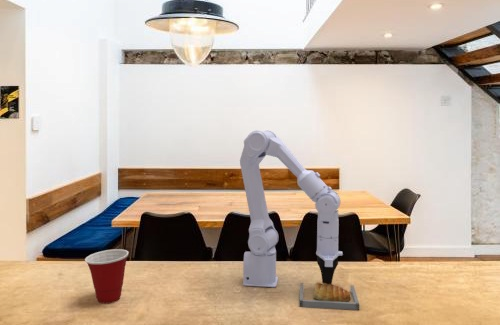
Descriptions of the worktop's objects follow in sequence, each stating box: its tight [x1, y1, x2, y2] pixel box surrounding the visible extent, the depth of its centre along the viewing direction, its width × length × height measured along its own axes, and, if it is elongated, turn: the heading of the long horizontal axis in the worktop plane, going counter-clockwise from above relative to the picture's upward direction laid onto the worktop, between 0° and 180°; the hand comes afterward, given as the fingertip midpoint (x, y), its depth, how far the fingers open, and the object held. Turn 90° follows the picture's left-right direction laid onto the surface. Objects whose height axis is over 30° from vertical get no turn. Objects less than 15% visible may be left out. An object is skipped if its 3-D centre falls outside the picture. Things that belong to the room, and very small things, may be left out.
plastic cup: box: [84, 248, 129, 304], centre depth 108 cm, size 11×11×12 cm
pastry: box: [313, 282, 351, 302], centre depth 110 cm, size 9×7×4 cm
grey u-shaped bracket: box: [299, 282, 360, 311], centre depth 110 cm, size 15×13×2 cm
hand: (326, 284), depth 114 cm, fingers closed
